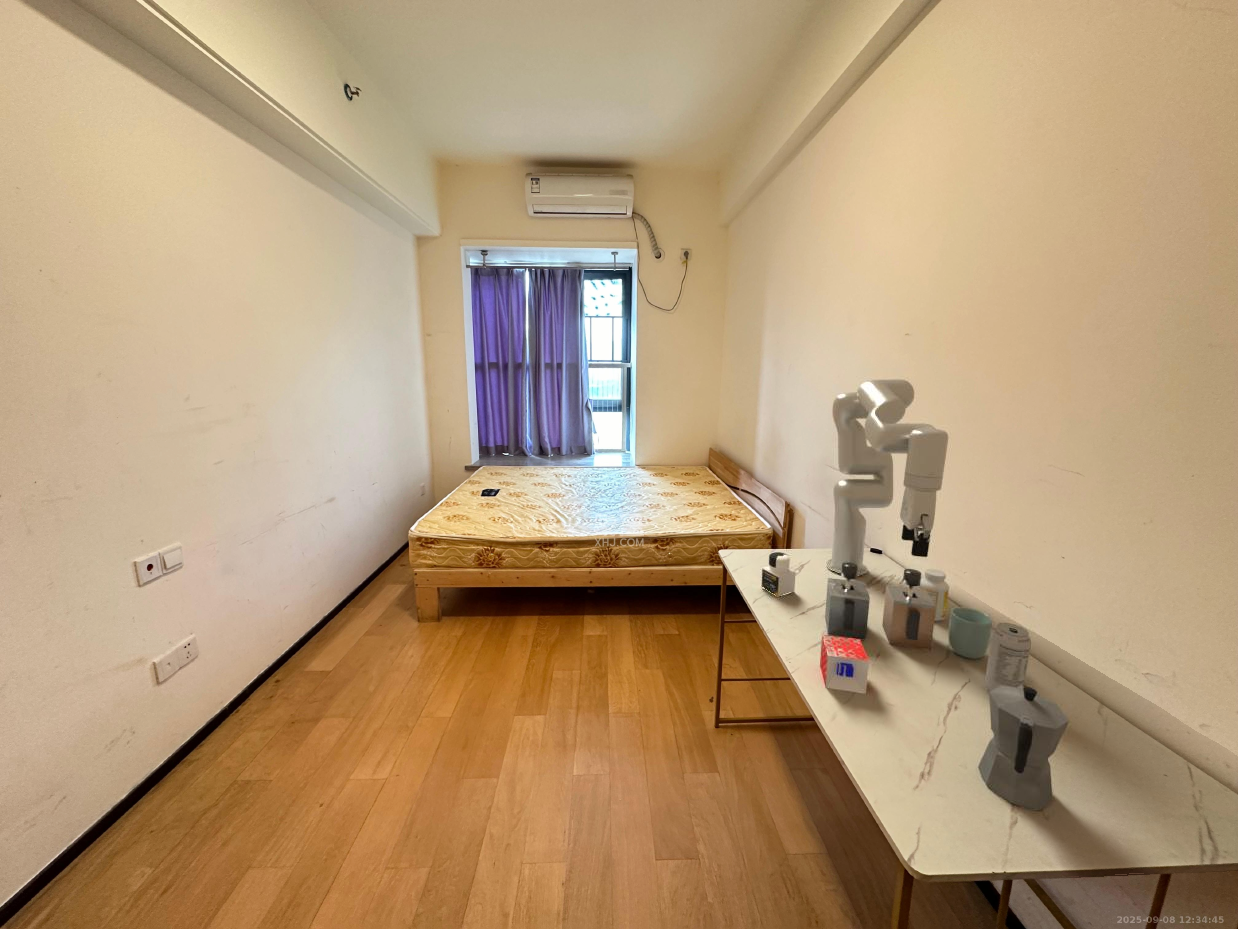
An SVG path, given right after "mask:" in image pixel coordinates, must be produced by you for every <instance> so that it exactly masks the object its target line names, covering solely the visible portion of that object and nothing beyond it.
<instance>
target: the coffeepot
mask: <svg viewBox="0 0 1238 929" xmlns="http://www.w3.org/2000/svg"><path fill="white" fill-rule="evenodd" d="M988 694H989V710H990V711H989V712H990V730H991V731H992V733H993V737H992V738H991V739H990V740H989V742H988V744H987V746H986V748H985V751H984V753H983V755H982V757H981V759H980V761H979V764H978V766H977V768H978V771H979V774H980V776H981V777H980V778H982V781H984V783H985V785H986V786H987V787H988V788H989V789H990V790H991V791H993V792H994V794H996V795H998V797H1000V796H1001V798H1002V799H1003V798H1004V800H1005V801H1007V802H1008V803H1011V804H1013V805H1015V806H1018V807H1020V808H1023V807H1024V808H1023V809H1027V808H1029V810H1034V809H1037V811H1038V810H1039V811H1042V810H1043V809H1045V808H1047V807H1048V806H1049V805H1050V803H1052V802H1053V787H1052V786H1053V785H1052V784H1053V783H1052V772H1051V771H1052V770H1051V764H1050V762H1049V758H1050V757H1051V756H1052V755H1053V754H1054V753H1055V752H1056V750H1057V748H1058V745H1059V743H1060V741H1061V739H1062V738H1063V735H1064V733H1065V731H1066V728H1067V726H1068V725H1069V722H1070V719H1069V718H1068V717H1067V716H1066V714H1065V712H1064V711H1063V710H1062V709H1061V708H1060V707H1059V705H1058V704H1057V703H1055V702H1053V701H1051V700H1050V699H1047V698H1045V697H1043V696H1041V693H1039V692H1038V690H1036V689H1035V688H1034V687H1030V686H1027V685H1026V684H1024V685H1020V686H1018V687H1017V688H1014V687H1009V686H1003V685H1001V686H999V687H998V688H996V689H994V690H992V691H990V692H988ZM1047 805H1048V806H1047ZM1046 806H1047V807H1046Z"/></svg>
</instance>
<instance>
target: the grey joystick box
mask: <svg viewBox="0 0 1238 929" xmlns="http://www.w3.org/2000/svg"><path fill="white" fill-rule="evenodd" d="M825 600H826V601H825V613H824V614H825V615H824V618H825V625H826V631H827V636H835V637H844V638H852V639H860V641H861V640H862V641H866V640H867V634H868V632H867V631H868V622H869V620H868V619H869V611H870V603H871V602H870V600H871V598H870V594H869V592H868V589H867V587H866V584H865V581H859V580H857V581H856V580H851V582H850V590H847V589H846V579H842V578H841V579H840V578H831V577H828V578H827V585H826V598H825Z"/></svg>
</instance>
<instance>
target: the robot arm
mask: <svg viewBox="0 0 1238 929" xmlns="http://www.w3.org/2000/svg"><path fill="white" fill-rule="evenodd" d="M914 399H915V389H914V386H913V385H912V383H911V382H909V381H907V380H905V379H899V378H898V379H872V380H868V381H866V382H863V383H862V384H860V386H859V387H858V389H857V391H855V392H854V391H853V392H845V393H841V394H839V395H837V396H836V397H835V398H834V401H833V402H832V409H831V410H832V418H833V422H834V425H835V428H836V432H837V459H838V460H837V462H838V464H837V465H838V470H839V471H840V472H841V473H842V474H844V475H850V476H853V475H854V476H872V478H871V479H870V478H869V479H868V478H867V479H864V478H846V479H841V480H839V481H837V482H836V483H835V484H834V486H833V501H834V523H833V538H832V539H833V540H832V551H831V552H832V553H831V559H828V560H827V561H826V564H827V566H828V567H829V568H830V569H832V570H834V571H835V572H838V573H841V570H842V563H844V562H850V563H854V564H856V565H857V566H858V568H857V577H859V576H858V575H862V576H864V575H863V574H865V573H866V574H867V573H868V567H867V566H866V565H865V564H864V556H865V555H864V554H865V553H864V552H865V541H866V532H867V520H866V518H865V516H864V514H863V513H862V512H861V511H860V509H885V508H889V507H890V506H891V504H892V502H893V499H894V461H893V460H894V459H893V456H892V455H893V454H899V455H900V454H901V455H902V454H906V462H905V468H904V477H903V484H902V485H903V487H905V488H904V492H903V496H902V501H901V502H902V503H901V507H900V514H899V516H900V519H901V521H902V523H903V524H902V531H901V539H902V540H903V541H911V542H912V546H911V552H910V554H911V556H913V557H918V558H919V557H921V558H927V557H928V555H929V547H930V541H931V536H932V535H931V532H932V530H933V527H934V524H935V523H934V522H935V517H936V516H935V515H936V507H937V506H936V505H937V504H936V503H937V491H941V490H942V485H943V479H944V471H945V465H946V464H945V463H946V457H947V451H948V444H949V443H948V442H949V434H948V433H947V432H946V431H945V430H943V429H938V428H937V427H935V426H933V425H931V424H929V423H909V422H906V423H904V422H903V423H899V422H900V421H901V420H902V419H903V418H904V416H905V414H906V411H907V410H906V409H907V408H909V407H910V406H911V405H912V403H913V401H914ZM858 419H860V420H861V419H865V421H864V425H863V424H862V423H861V422H860V421H859V420H858ZM867 441H868V442H867ZM868 444H870V445H871V446H869V445H868ZM919 532H920V533H919ZM827 566H826V567H827ZM835 572H834V573H835ZM866 574H865V575H866Z"/></svg>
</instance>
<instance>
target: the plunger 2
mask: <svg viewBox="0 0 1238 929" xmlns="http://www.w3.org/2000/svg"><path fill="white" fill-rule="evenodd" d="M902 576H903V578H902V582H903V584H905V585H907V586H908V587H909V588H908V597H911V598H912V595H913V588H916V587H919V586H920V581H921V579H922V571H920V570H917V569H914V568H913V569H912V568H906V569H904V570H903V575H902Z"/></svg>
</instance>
